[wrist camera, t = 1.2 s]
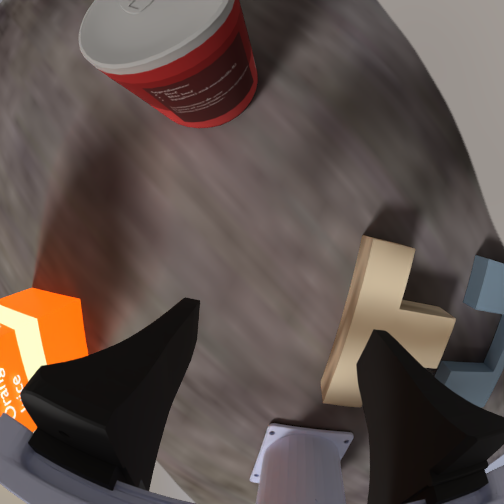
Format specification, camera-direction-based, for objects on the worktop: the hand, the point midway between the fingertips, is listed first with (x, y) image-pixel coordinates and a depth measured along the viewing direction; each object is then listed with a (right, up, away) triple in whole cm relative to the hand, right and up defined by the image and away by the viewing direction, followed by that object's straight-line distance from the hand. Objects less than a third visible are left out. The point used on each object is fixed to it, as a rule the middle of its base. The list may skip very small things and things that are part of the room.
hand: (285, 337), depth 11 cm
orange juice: (-21, -5, +13) cm, 25 cm away
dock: (+18, -4, +8) cm, 20 cm away
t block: (+9, -2, +9) cm, 13 cm away
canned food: (-5, +16, +8) cm, 19 cm away
